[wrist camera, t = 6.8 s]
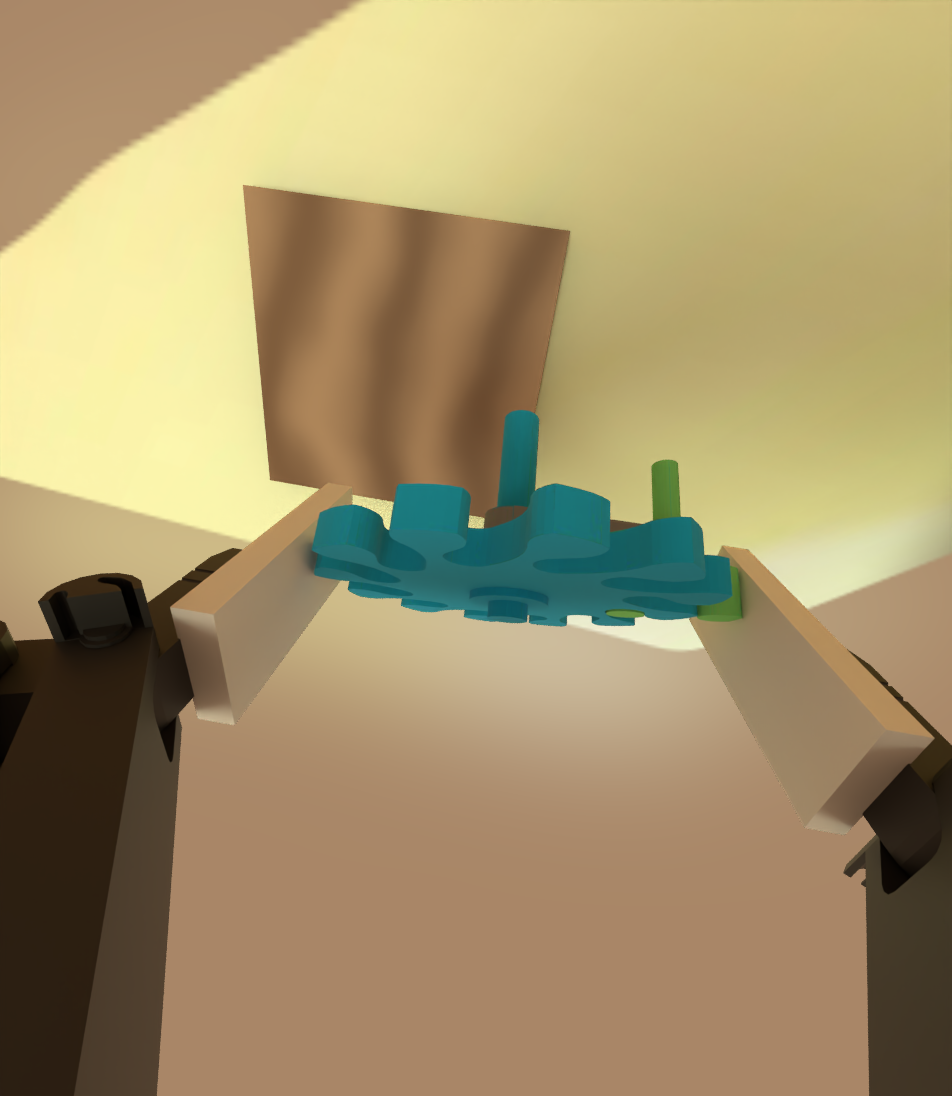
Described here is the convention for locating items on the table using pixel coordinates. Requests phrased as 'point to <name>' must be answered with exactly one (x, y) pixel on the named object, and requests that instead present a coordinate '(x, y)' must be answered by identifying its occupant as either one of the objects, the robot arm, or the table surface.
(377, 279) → the mount plate
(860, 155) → the table surface
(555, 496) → the gear
